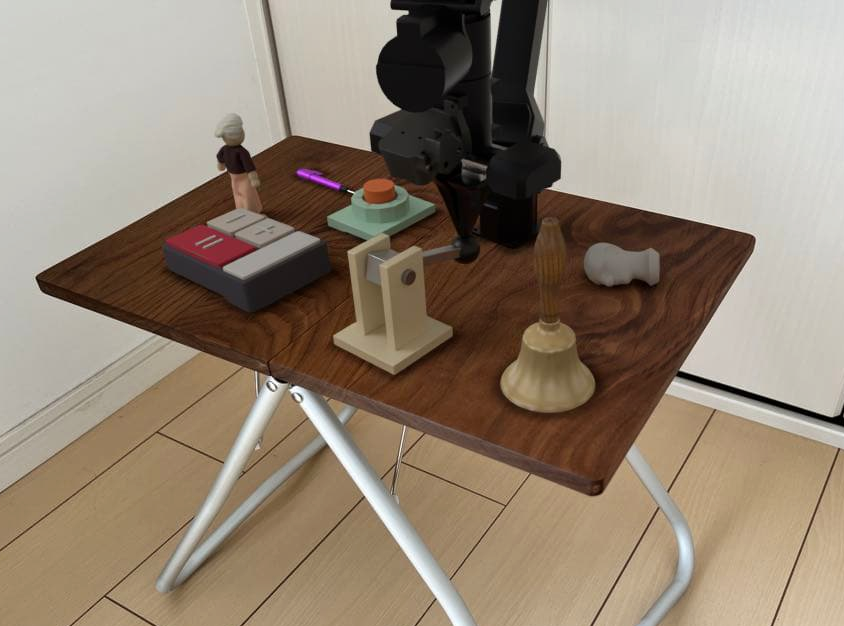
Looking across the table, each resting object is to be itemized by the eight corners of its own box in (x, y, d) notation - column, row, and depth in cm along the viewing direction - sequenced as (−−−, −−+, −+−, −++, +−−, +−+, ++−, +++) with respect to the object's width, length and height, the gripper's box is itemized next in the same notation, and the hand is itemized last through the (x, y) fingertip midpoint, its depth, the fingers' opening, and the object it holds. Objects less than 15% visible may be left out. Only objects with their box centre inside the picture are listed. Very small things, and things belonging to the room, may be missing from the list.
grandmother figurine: (284, 219, 104) (265, 114, 96) (262, 232, 101) (241, 125, 94) (237, 206, 107) (215, 103, 99) (214, 218, 105) (190, 114, 97)
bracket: (393, 309, 87) (384, 220, 81) (453, 337, 83) (448, 245, 77) (334, 345, 83) (320, 253, 77) (394, 377, 78) (384, 282, 72)
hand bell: (569, 426, 72) (578, 255, 62) (483, 396, 76) (478, 229, 66) (610, 374, 78) (625, 209, 68) (528, 348, 81) (531, 187, 71)
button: (380, 189, 103) (378, 175, 102) (402, 197, 101) (400, 183, 100) (358, 200, 101) (356, 186, 100) (380, 208, 99) (378, 194, 98)
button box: (387, 196, 108) (385, 173, 106) (435, 213, 104) (434, 189, 102) (328, 225, 102) (324, 202, 100) (376, 245, 98) (373, 221, 96)
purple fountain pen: (294, 177, 114) (383, 210, 105) (295, 168, 113) (384, 201, 105) (310, 175, 116) (398, 207, 107) (310, 166, 115) (399, 198, 107)
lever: (461, 256, 88) (465, 227, 87) (484, 265, 87) (488, 236, 85) (362, 281, 78) (364, 249, 77) (385, 291, 77) (388, 259, 75)
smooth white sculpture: (576, 292, 91) (594, 258, 93) (651, 308, 88) (667, 272, 90) (572, 263, 87) (591, 228, 90) (650, 278, 84) (667, 242, 86)
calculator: (240, 202, 99) (326, 234, 91) (248, 237, 102) (333, 271, 93) (157, 238, 93) (241, 276, 85) (168, 274, 96) (251, 314, 87)
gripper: (316, 76, 75) (338, 239, 85) (481, 123, 66) (485, 301, 75) (405, 44, 82) (416, 198, 92) (568, 82, 72) (561, 250, 82)
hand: (464, 234), depth 85 cm, fingers closed
